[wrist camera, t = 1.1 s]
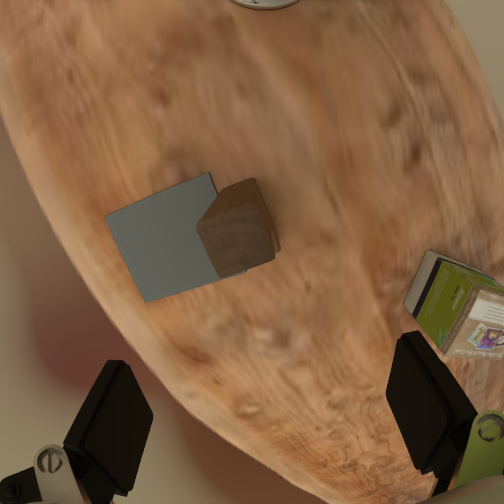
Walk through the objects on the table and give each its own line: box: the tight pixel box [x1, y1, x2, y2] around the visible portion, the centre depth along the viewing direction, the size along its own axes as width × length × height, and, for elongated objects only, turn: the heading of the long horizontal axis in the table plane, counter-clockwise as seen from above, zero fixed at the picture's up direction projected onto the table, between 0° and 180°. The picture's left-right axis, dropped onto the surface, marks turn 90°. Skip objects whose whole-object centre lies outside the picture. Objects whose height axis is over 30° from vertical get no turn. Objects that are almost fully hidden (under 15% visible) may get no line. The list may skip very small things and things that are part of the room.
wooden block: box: [196, 178, 281, 278], centre depth 30 cm, size 9×4×18 cm, turn 22°
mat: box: [105, 173, 247, 303], centre depth 39 cm, size 16×14×1 cm
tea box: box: [403, 250, 504, 360], centre depth 35 cm, size 15×10×15 cm
